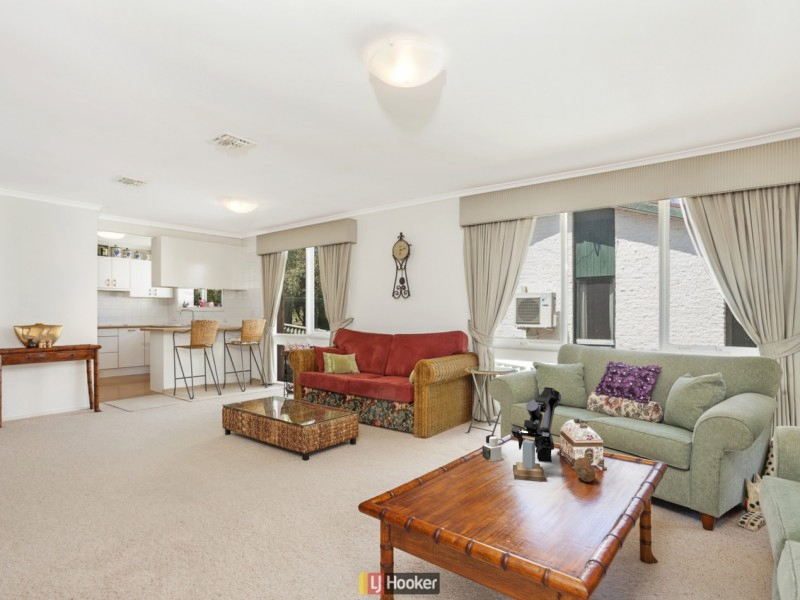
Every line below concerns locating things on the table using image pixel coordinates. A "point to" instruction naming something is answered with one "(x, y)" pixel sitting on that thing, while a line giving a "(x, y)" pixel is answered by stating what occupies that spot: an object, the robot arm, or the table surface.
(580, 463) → the brown rock
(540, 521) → the table surface
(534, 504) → the table surface
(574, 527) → the table surface
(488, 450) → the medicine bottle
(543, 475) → the plinth
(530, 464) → the block
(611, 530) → the table surface
